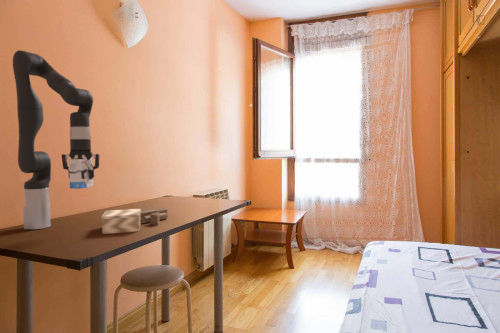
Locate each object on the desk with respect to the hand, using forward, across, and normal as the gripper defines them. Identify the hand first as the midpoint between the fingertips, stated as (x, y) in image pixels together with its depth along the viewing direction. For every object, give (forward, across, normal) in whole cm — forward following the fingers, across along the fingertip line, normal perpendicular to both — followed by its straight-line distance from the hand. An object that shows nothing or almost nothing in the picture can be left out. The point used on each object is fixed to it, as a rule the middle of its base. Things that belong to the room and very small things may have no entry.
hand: (81, 179), depth 139 cm
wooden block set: (+22, +31, +14) cm, 41 cm away
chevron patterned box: (+21, +15, +1) cm, 26 cm away
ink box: (+3, 0, 0) cm, 3 cm away
